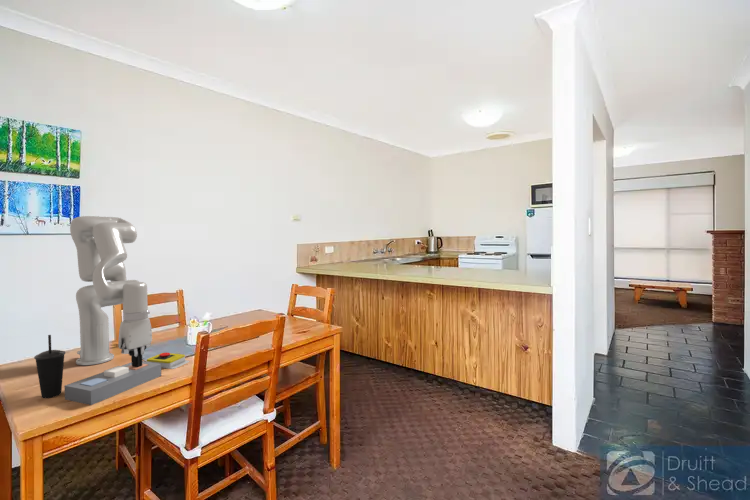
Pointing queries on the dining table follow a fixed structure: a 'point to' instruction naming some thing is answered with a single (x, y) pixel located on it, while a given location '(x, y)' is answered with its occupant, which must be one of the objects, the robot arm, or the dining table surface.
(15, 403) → the dining table surface
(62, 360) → the drinking cup
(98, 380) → the slate blue key
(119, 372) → the off white key
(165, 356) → the emergency button
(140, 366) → the terracotta key
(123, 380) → the key panel
